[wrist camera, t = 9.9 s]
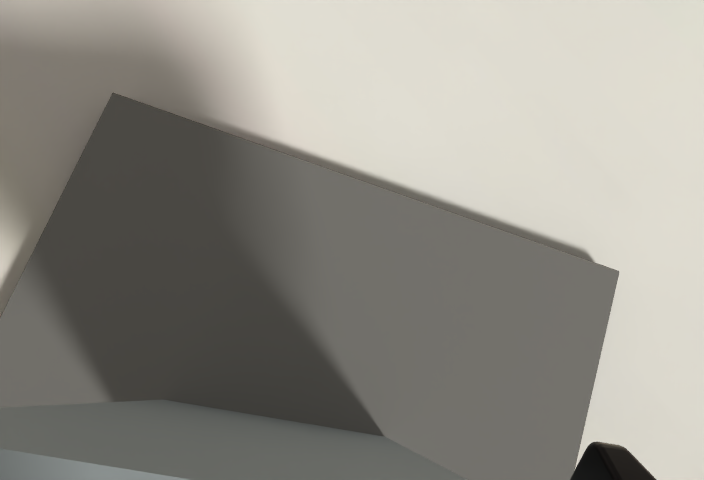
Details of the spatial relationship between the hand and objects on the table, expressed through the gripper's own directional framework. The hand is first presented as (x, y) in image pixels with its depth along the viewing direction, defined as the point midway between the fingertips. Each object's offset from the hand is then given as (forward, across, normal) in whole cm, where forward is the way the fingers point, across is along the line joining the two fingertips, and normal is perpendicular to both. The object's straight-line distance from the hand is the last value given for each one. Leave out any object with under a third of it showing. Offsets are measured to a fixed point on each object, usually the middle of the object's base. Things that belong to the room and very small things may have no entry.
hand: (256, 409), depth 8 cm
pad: (+6, 0, +8) cm, 9 cm away
